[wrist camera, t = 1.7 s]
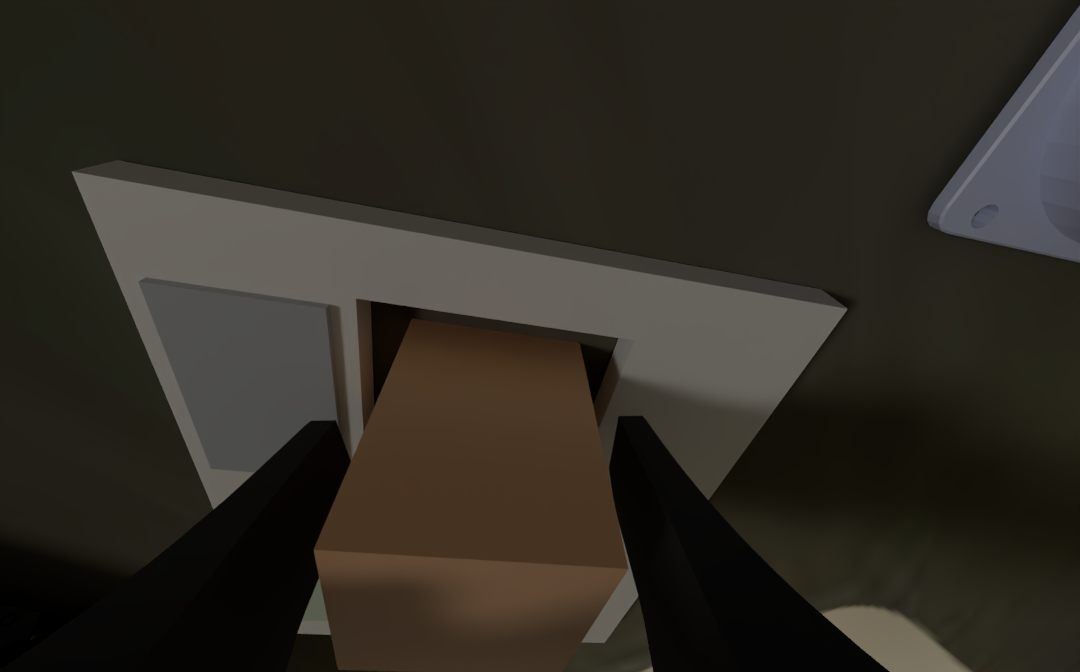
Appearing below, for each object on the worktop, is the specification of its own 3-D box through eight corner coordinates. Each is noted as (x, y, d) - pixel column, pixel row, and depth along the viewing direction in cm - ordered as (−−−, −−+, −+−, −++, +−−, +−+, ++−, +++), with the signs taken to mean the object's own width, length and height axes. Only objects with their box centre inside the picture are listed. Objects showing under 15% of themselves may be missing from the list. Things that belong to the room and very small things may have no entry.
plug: (579, 342, 11) (628, 568, 6) (542, 459, 14) (555, 682, 9) (412, 317, 10) (313, 550, 5) (408, 445, 13) (339, 678, 8)
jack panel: (821, 289, 10) (853, 313, 9) (601, 620, 21) (605, 647, 20) (118, 160, 8) (61, 173, 7) (276, 607, 19) (263, 637, 18)
